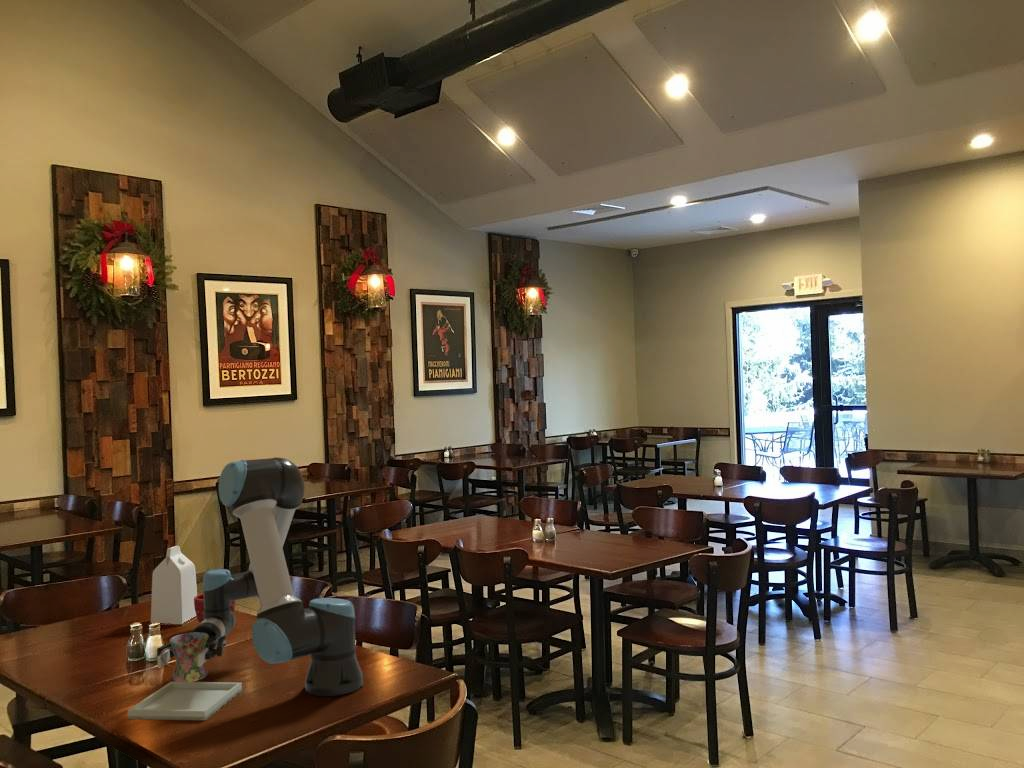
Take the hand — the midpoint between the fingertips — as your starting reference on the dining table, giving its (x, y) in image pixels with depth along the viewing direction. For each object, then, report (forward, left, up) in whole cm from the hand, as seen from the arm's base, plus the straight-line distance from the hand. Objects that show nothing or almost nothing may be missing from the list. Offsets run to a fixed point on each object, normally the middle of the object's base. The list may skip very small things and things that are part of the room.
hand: (179, 662), depth 210 cm
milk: (+46, -81, -12) cm, 94 cm away
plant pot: (+26, -71, -12) cm, 77 cm away
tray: (0, -4, -12) cm, 13 cm away
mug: (+1, -4, -6) cm, 7 cm away
